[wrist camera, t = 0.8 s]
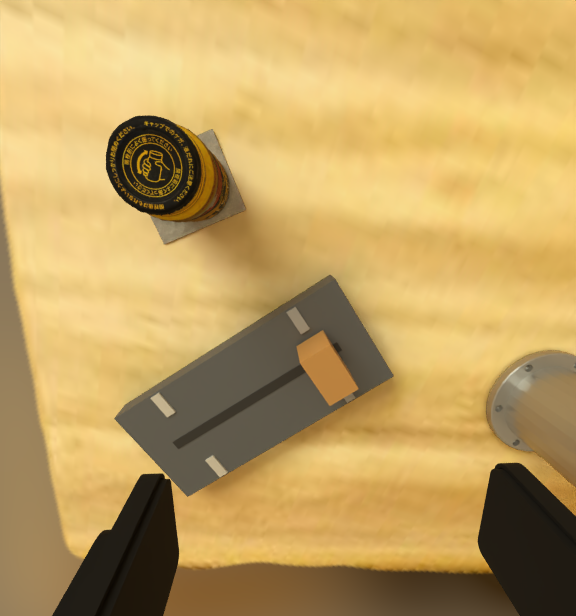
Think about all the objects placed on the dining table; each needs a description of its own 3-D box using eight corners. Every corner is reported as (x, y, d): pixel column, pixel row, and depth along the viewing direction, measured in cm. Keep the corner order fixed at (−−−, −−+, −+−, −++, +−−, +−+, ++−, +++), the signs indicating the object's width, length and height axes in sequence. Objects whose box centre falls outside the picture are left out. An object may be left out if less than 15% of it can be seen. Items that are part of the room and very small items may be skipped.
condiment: (246, 209, 30) (232, 202, 18) (164, 244, 30) (100, 258, 19) (212, 129, 28) (173, 65, 17) (126, 167, 28) (28, 130, 17)
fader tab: (322, 329, 30) (330, 344, 27) (348, 369, 32) (358, 389, 28) (296, 346, 31) (300, 363, 27) (322, 384, 32) (329, 406, 28)
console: (330, 274, 32) (335, 279, 29) (385, 365, 35) (394, 377, 32) (125, 404, 34) (113, 419, 32) (192, 479, 37) (187, 498, 35)
